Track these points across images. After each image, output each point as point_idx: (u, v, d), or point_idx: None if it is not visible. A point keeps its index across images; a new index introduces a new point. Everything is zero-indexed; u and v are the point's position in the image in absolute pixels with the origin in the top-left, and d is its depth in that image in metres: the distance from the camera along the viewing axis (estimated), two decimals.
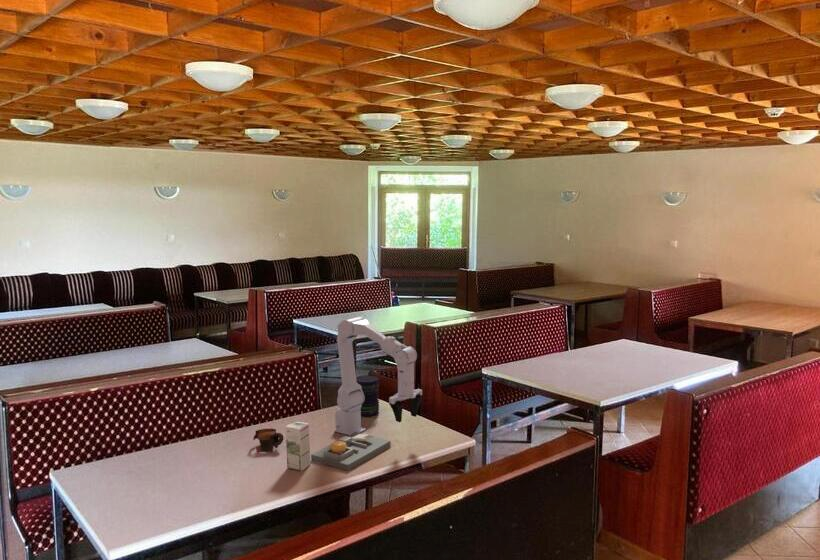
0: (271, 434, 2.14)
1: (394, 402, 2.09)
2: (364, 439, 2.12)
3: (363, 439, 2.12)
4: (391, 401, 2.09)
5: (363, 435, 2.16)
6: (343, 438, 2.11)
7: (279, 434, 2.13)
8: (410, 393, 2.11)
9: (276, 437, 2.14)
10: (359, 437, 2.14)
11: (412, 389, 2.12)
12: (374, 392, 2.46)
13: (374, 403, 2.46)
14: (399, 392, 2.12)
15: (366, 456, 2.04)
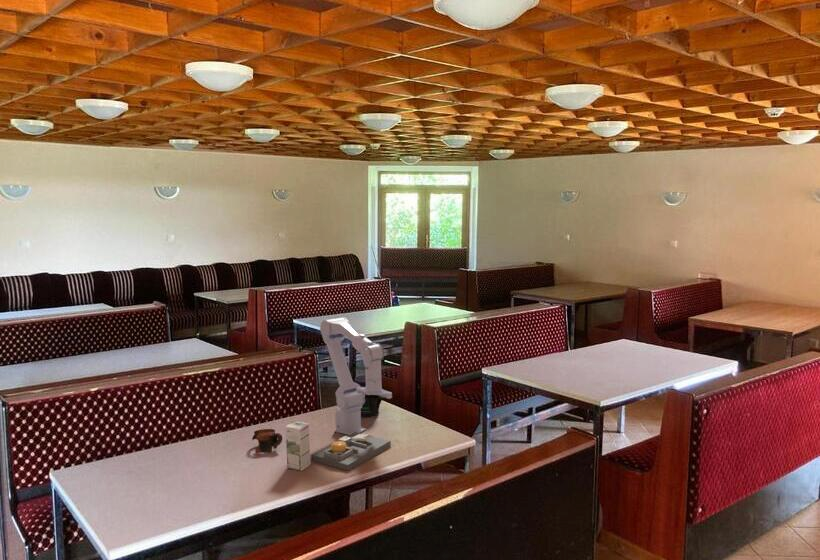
0: (270, 434, 2.13)
1: (357, 392, 2.20)
2: (364, 439, 2.12)
3: (363, 439, 2.12)
4: None
5: (363, 435, 2.16)
6: (343, 438, 2.11)
7: (278, 434, 2.13)
8: (367, 389, 2.15)
9: (275, 437, 2.13)
10: (359, 437, 2.14)
11: (370, 386, 2.14)
12: None
13: None
14: None
15: (366, 456, 2.04)
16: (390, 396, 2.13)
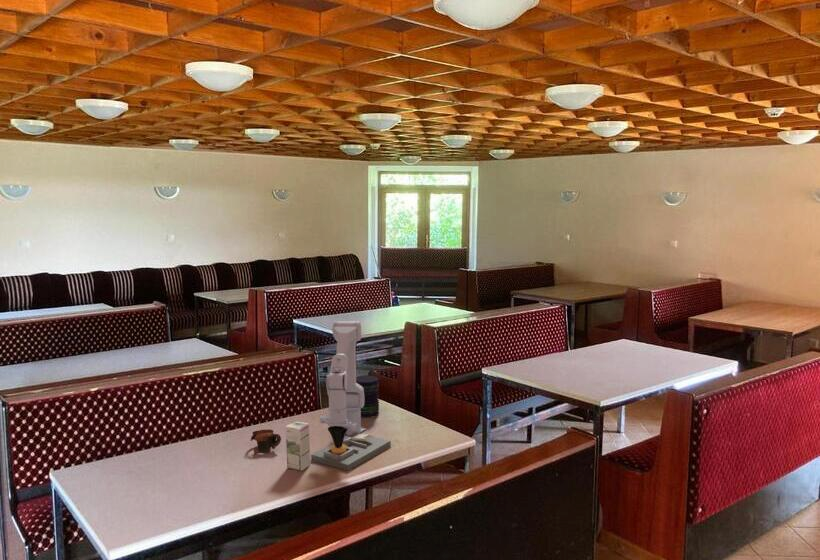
0: (268, 435, 2.13)
1: (321, 421, 2.06)
2: (364, 439, 2.12)
3: (363, 439, 2.12)
4: None
5: (363, 435, 2.16)
6: None
7: (277, 435, 2.12)
8: (331, 420, 2.01)
9: (273, 438, 2.13)
10: (359, 437, 2.14)
11: (333, 417, 2.00)
12: (374, 392, 2.46)
13: (374, 403, 2.46)
14: None
15: (366, 456, 2.04)
16: (355, 428, 1.99)
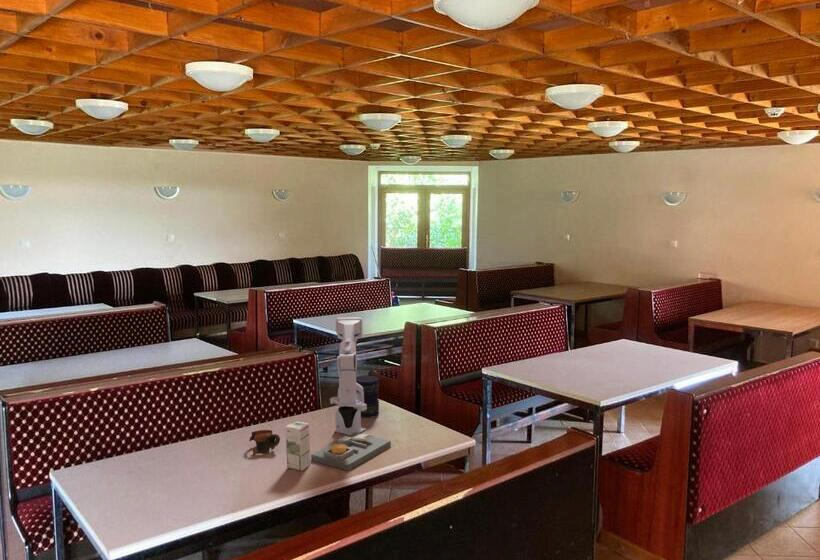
0: (267, 435, 2.12)
1: (331, 402, 2.09)
2: (364, 439, 2.12)
3: (363, 439, 2.12)
4: None
5: (363, 435, 2.16)
6: (343, 438, 2.11)
7: (275, 435, 2.12)
8: (341, 400, 2.03)
9: (272, 438, 2.13)
10: (359, 437, 2.14)
11: (343, 397, 2.03)
12: (374, 392, 2.46)
13: (374, 403, 2.46)
14: None
15: (366, 456, 2.04)
16: (364, 408, 2.02)
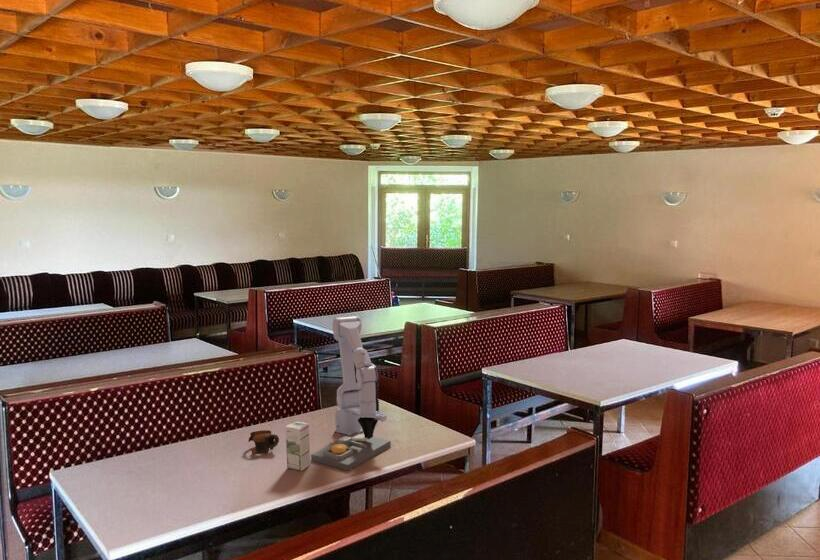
0: (266, 436, 2.12)
1: (351, 413, 2.15)
2: (364, 439, 2.12)
3: (363, 439, 2.12)
4: None
5: (363, 435, 2.16)
6: (343, 438, 2.11)
7: (274, 436, 2.11)
8: (361, 412, 2.10)
9: (271, 439, 2.12)
10: (359, 437, 2.14)
11: (364, 409, 2.09)
12: None
13: None
14: None
15: (366, 456, 2.04)
16: (384, 419, 2.08)
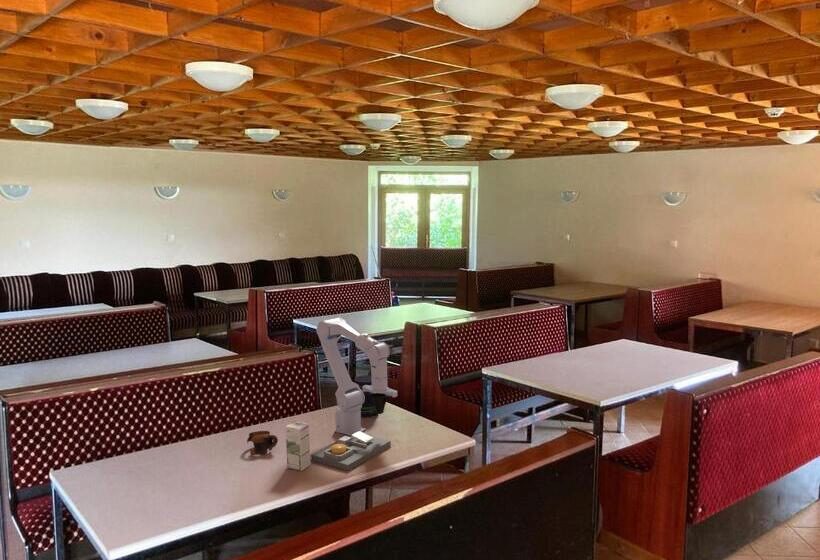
0: (265, 436, 2.11)
1: (364, 390, 2.22)
2: (364, 442, 2.12)
3: (363, 441, 2.12)
4: None
5: (363, 435, 2.16)
6: (343, 438, 2.11)
7: (273, 436, 2.11)
8: (373, 388, 2.17)
9: (270, 439, 2.12)
10: (359, 437, 2.14)
11: (375, 385, 2.16)
12: None
13: None
14: None
15: (366, 456, 2.04)
16: (395, 395, 2.15)
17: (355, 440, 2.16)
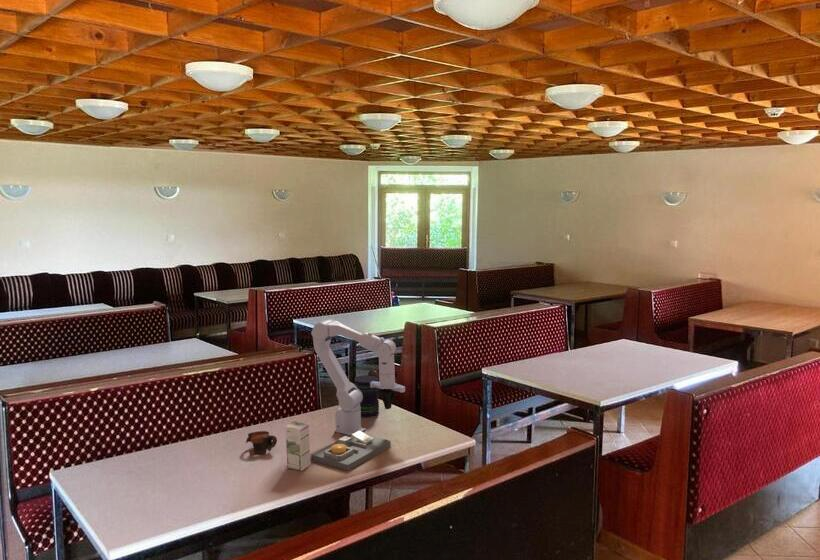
0: (264, 437, 2.11)
1: (371, 386, 2.27)
2: (364, 442, 2.12)
3: (363, 442, 2.12)
4: None
5: (363, 435, 2.16)
6: (343, 438, 2.11)
7: (272, 437, 2.11)
8: (381, 383, 2.22)
9: (269, 440, 2.11)
10: (359, 437, 2.14)
11: (383, 381, 2.21)
12: (374, 392, 2.46)
13: (374, 403, 2.46)
14: None
15: (366, 456, 2.04)
16: (403, 390, 2.20)
17: (355, 440, 2.16)
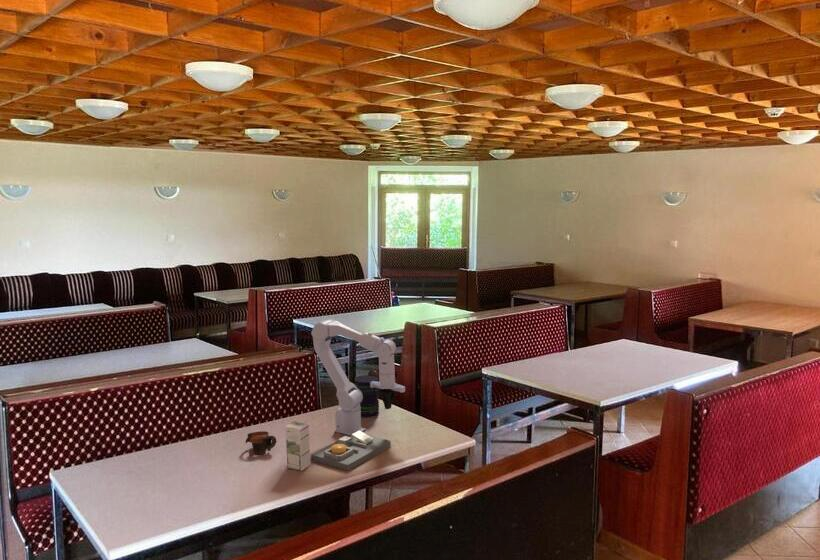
0: (264, 437, 2.11)
1: (371, 386, 2.27)
2: (364, 442, 2.12)
3: (363, 442, 2.12)
4: None
5: (363, 435, 2.16)
6: (343, 438, 2.11)
7: (272, 437, 2.10)
8: (381, 383, 2.22)
9: (269, 440, 2.11)
10: (359, 437, 2.14)
11: (383, 381, 2.21)
12: (374, 392, 2.46)
13: (374, 403, 2.46)
14: None
15: (366, 456, 2.04)
16: (403, 390, 2.20)
17: (355, 440, 2.16)
